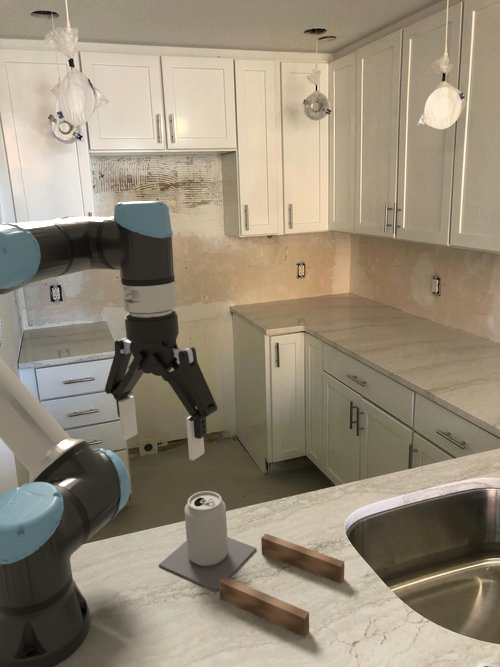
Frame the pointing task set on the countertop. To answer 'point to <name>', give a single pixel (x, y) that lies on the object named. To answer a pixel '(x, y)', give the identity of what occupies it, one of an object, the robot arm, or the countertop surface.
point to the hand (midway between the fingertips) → (162, 446)
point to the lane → (272, 606)
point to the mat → (208, 574)
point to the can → (206, 528)
